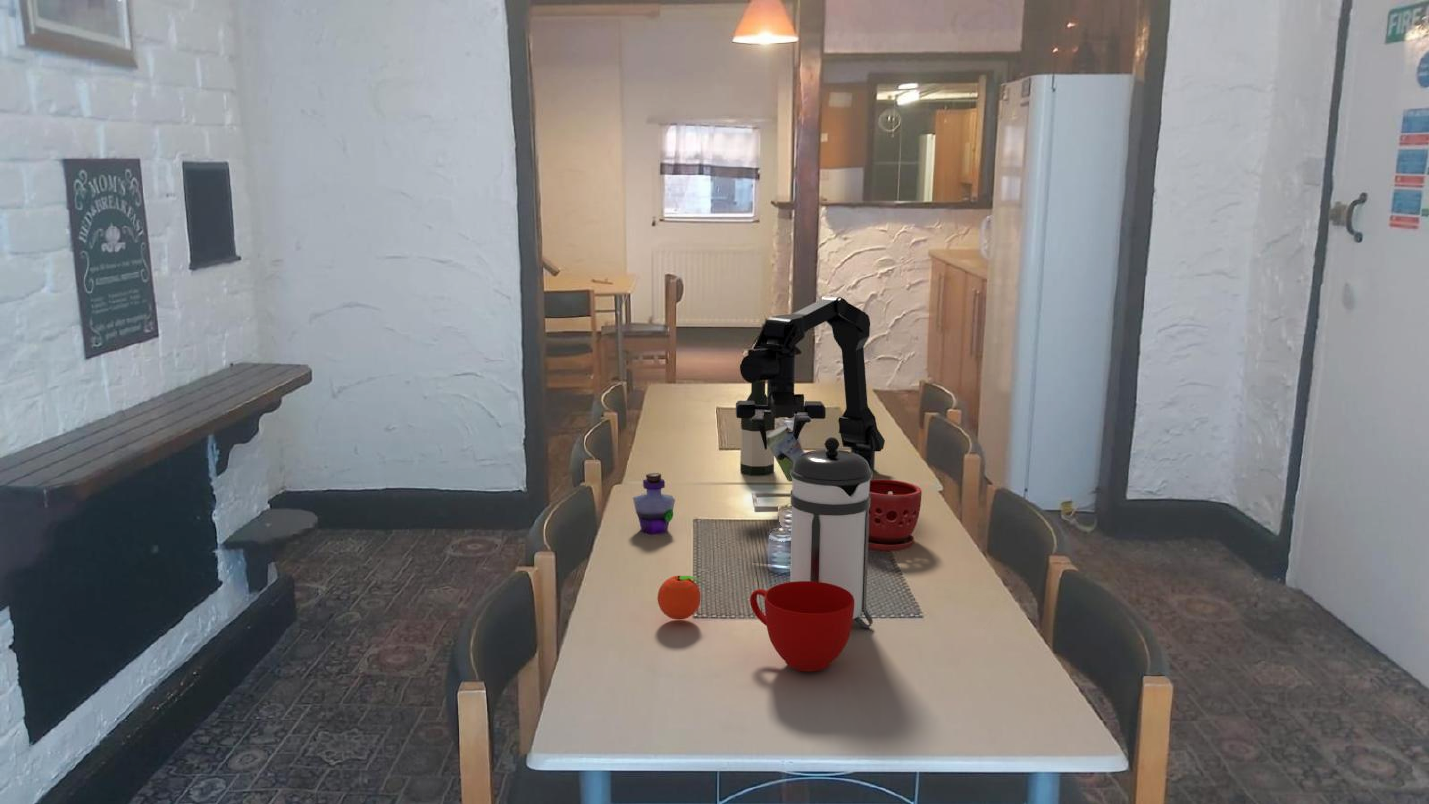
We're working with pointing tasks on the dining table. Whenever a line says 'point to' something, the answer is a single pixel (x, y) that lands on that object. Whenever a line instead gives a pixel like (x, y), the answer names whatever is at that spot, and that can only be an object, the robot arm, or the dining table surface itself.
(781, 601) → the ceramic cup
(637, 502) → the potion bottle
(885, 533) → the plant pot
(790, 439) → the beverage can
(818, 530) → the coffee press
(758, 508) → the board
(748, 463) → the wine bottle
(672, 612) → the clementine
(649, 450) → the dining table surface
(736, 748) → the dining table surface
